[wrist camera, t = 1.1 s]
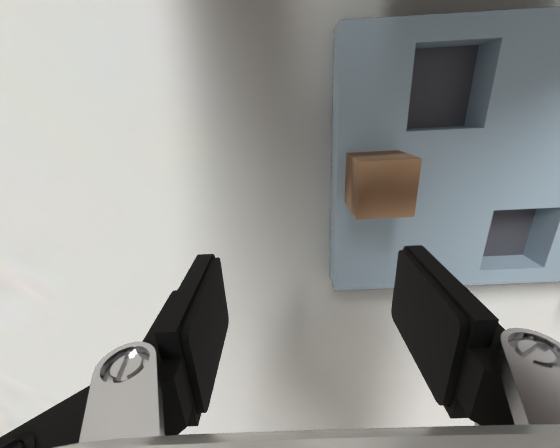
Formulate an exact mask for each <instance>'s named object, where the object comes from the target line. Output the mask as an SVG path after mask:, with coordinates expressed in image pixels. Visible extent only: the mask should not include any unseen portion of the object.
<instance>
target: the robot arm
mask: <svg viewBox="0 0 560 448" xmlns="http://www.w3.org/2000/svg"><path fill="white" fill-rule="evenodd" d="M391 312H392V318H393V321H394V322H395V324H396V326H397V328H398V330H399V332H400V334H401V336H402V338H403V339H404V341H405V343H406V345H407V347H408V349H409V351H410V353H411V355H412V356H413V358H414V360H415V362H416V364H417V366H418V368H419V370H420V372H421V373H422V375H423V377H424V379H425V381H426V383H427V385H428V387H429V389H430V390H431V392H432V394H433V396H434V398H435V400H436V402H437V403H438V404H439V405H444V407H445V409H446V411H447V413H448V415H449V416H450V418H469V419H470V420H472V421H474V422H475V426H446V427H406V428H371V429H337V430H304V431H274V432H246V433H218V434H189V435H179V433H180V432H181V431H183V430H184V429H185V428H186V427H187V426H198V424H199V420H200V416H201V413H206V412H207V410H208V407H209V403H210V399H211V394H212V390H213V386H214V382H215V378H216V374H217V370H218V366H219V361H220V357H221V353H222V349H223V345H224V341H225V337H226V333H227V328H228V321H229V319H228V310H227V303H226V296H225V289H224V283H223V276H222V269H221V262H220V258H215V256H214V254H203V255H197V257H196V259H195V260H194V262H193V264H192V266H191V267H190V269H189V271H188V273H187V274H186V276H185V278H184V280H183V281H182V283H181V285H180V287H179V289H178V290H175V291H173V292H172V293H171V294H170V296H169V298H168V299H167V301H166V303H165V304H164V306H163V308H162V310H161V311H160V313H159V315H158V316H157V318H156V320H155V321H154V323H153V325H152V326H151V328H150V330H149V331H148V333H147V335H146V337H145V338H144V340H143V342H133V343H128V344H125V345H123V346H120V347H118V348H116V349H114V350H113V351H111V352H110V353H108V354H107V355H106V356H105V357H104V358H102V359H101V360H100V362H99V363H98V364H97V366H96V367H95V369H94V372H93V375H92V380H91V385H90V386H88V387H86V388H85V389H83V390H81V391H79V392H78V393H76V394H74V395H73V396H71V397H69V398H67V399H66V400H64V401H62V402H60V403H59V404H57V405H55V406H54V407H52V408H50V409H48V410H47V411H45V412H43V413H42V414H40V415H38V416H36V417H35V418H33V419H31V420H29V421H28V422H26V423H24V424H23V425H21V426H19V427H17V428H16V429H14V430H12V431H11V432H9V433H7V434H5V435H4V436H2V437H0V448H560V343H559V342H558V341H556V340H554V339H552V338H551V337H549V336H546V335H544V334H541V333H539V332H536V331H532V330H529V329H522V328H511V329H507V330H505V329H504V328H503V327H502V326H501V325H500V324H499V323H498V321H499V319H498V318H497V317H496V316H495V315H494V314H493V313H492V312H491V311H489V310H488V309H487V308H486V307H485V306H484V305H483V304H482V303H481V302H480V301H479V300H478V299H477V298H476V297H475V296H474V295H473V294H472V293H471V292H470V291H469V290H468V289H467V288H466V287H465V286H464V285H463V284H462V283H461V282H460V281H459V280H458V279H457V278H456V277H455V276H453V275H452V274H451V273H450V272H449V271H448V270H447V269H446V268H445V267H444V266H443V265H442V264H441V263H440V262H439V261H438V260H437V259H436V258H435V257H434V256H433V255H432V254H431V253H430V252H429V251H428V250H427V249H426V248H425V247H424V246H422V245H414V246H405V247H404V248H403V250H399V252H398V259H397V267H396V276H395V284H394V293H393V301H392V310H391Z"/></svg>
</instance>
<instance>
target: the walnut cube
mask: <svg viewBox="0 0 560 448" xmlns="http://www.w3.org/2000/svg"><path fill="white" fill-rule="evenodd" d="M421 163H422V158H419V157H416V156H413V155H411V154H408V153H405V152H402V151H399V150H391V151H371V152H351V153H346V176H345V204H346V205H347V206H348V208H349V209H350V211H351V212H352V214H353V215H354V217H355V218H356V220H358V219H380V218H402V217H414V216H415V208H416V201H417V193H418V186H419V178H420V171H421Z"/></svg>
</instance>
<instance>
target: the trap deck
mask: <svg viewBox="0 0 560 448" xmlns="http://www.w3.org/2000/svg"><path fill="white" fill-rule="evenodd" d="M391 150H399V151H402V152H405V153H408V154H411V155H413V156H416V157H419V158H422V163H421V171H420V178H419V186H418V193H417V201H416V208H415V216H414V217H402V218H380V219H358V220H356V218H355V217H354V215H353V214H352V212H351V211H350V209H349V208H348V206H347V205H346V204H345V176H346V153H351V152H371V151H391ZM414 245H422V246H424V247H425V248H426V249H427V250H428V251H429V252H430V253H431V254H432V255H433V256H434V257H435V258H436V259H437V260H438V261H439V262H440V263H441V264H442V265H443V266H444V267H445V268H446V269H447V270H448V271H449V272H450V273H451V274H452V275H453V276H455V277H456V278H457V279H458V280H459V281H460V282H461V283H462V284H463V285H488V284H513V283H538V282H560V6H559V7H543V8H526V9H510V10H493V11H476V12H460V13H443V14H427V15H410V16H393V17H377V18H360V19H344V20H340V22H339V23H338V25H337V26H336V28H335V29H334V61H333V119H332V177H331V235H330V278H331V281H332V285H333V288H334V291H338V290H363V289H388V288H394V284H395V276H396V267H397V259H398V252H399V250H403V248H404V247H405V246H414Z"/></svg>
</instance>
